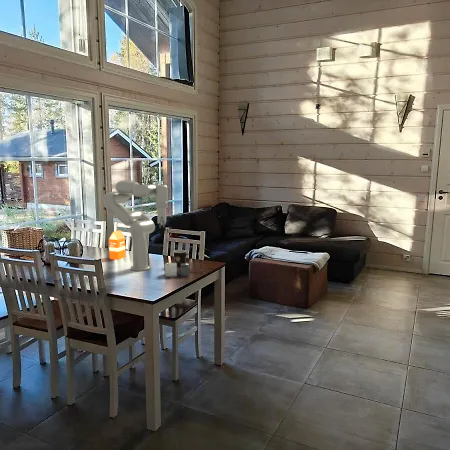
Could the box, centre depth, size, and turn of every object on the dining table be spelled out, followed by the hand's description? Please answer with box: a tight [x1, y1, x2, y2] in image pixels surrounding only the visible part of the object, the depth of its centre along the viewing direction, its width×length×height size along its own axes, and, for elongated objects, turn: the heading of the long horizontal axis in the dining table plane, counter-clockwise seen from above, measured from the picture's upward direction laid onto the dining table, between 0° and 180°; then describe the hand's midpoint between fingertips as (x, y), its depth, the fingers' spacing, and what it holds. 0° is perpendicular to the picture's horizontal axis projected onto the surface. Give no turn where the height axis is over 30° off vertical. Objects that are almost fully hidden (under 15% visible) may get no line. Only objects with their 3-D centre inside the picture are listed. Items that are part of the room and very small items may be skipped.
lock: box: [164, 262, 178, 278], centre depth 253 cm, size 6×7×8 cm
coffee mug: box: [173, 249, 192, 268], centre depth 274 cm, size 12×9×10 cm
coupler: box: [177, 262, 190, 277], centre depth 254 cm, size 7×14×7 cm, turn 95°
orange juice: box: [108, 229, 126, 261], centre depth 296 cm, size 8×9×20 cm
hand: (162, 232), depth 254 cm, fingers open, 9 cm apart
